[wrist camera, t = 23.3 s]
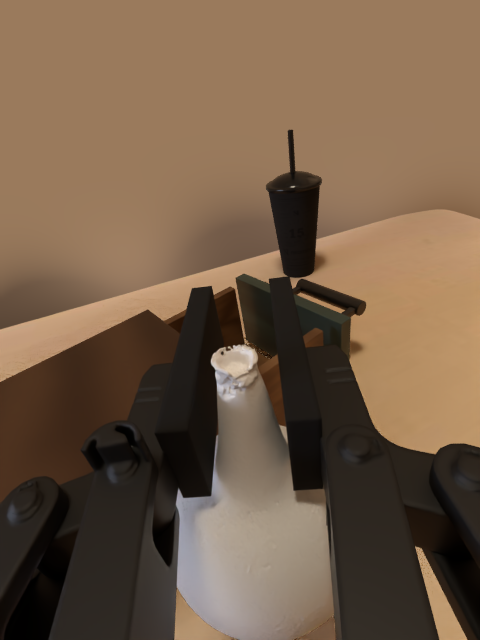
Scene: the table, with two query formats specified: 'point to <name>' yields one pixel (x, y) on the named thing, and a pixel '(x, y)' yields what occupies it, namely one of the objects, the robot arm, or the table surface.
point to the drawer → (259, 324)
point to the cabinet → (75, 399)
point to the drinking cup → (295, 216)
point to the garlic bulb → (253, 522)
